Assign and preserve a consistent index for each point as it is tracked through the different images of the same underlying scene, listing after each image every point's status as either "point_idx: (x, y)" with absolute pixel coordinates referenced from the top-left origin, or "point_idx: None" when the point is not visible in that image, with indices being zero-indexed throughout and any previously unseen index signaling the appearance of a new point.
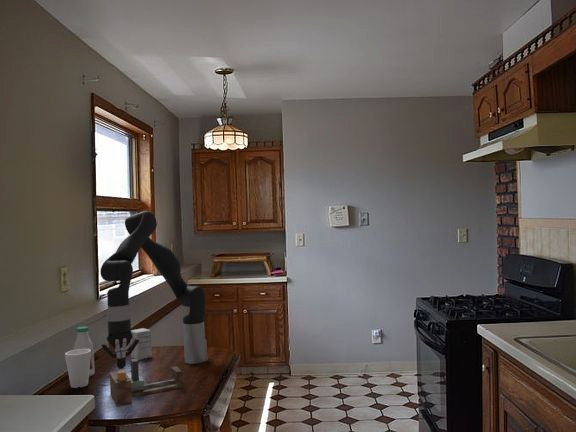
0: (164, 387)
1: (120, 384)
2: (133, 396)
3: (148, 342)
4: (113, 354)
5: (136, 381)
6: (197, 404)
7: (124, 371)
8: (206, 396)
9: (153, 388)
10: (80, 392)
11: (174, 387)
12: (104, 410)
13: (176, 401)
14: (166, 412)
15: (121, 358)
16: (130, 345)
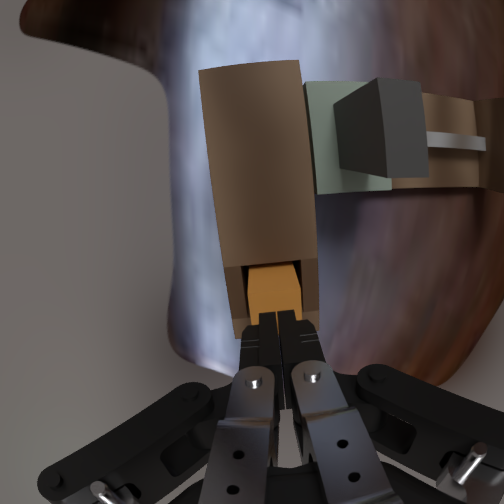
0: (443, 178)
1: None
2: None
3: None
4: (209, 453)
5: (354, 184)
6: (453, 360)
7: (297, 310)
8: (493, 311)
9: None
10: (103, 30)
11: (468, 185)
12: (196, 296)
13: (431, 319)
14: None
15: (286, 407)
16: (433, 428)
